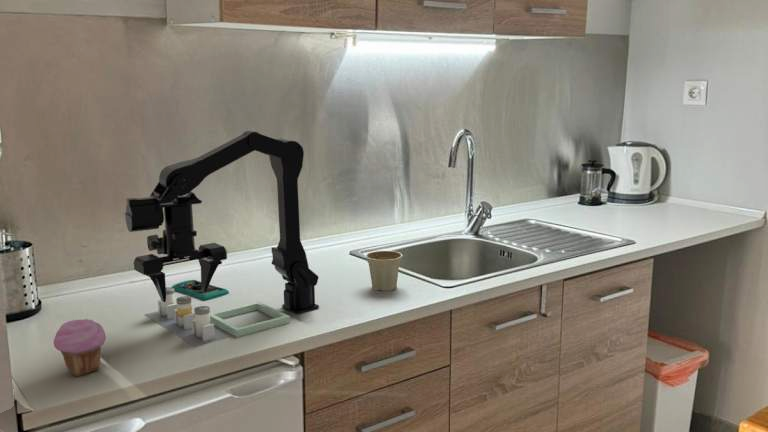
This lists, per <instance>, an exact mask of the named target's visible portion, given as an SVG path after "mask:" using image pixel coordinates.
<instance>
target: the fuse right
mask: <svg viewBox="0 0 768 432" xmlns="http://www.w3.org/2000/svg"><path fill="white" fill-rule="evenodd" d="M193 310H194V312H193V313H195V325H196V338H199V339H202V326H204V325H208V324H211V322H210V314H211V308H210V306H208V305H200V306H196V307H194V308H193Z"/></svg>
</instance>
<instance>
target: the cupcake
mask: <svg viewBox="0 0 768 432" xmlns="http://www.w3.org/2000/svg"><path fill="white" fill-rule="evenodd" d="M105 332H106V331H105V329H104V327H103V326H102V325H101V324H100V323H99V322H96V321H94V320H92V319H88V318H83V319H73V320H69V321H67V322H65V323H63V324H61V326H60V327H59V329H58V331H56V333H55V336H54V337H53V347H54V348H55V349H56V350H57V351H59V352H60V353H61V354H62V356H63V359H64V363H65V365H66V369H68V371H69V372H70V373H71V374H73V375H74V376H76V377H78V376H83V375H86V374H88V373H91V372H96V371H97V370H99V369H100V367H101V349H102V346H104V343H105V341H106V339H107V338H106V337H107V335H106V333H105Z"/></svg>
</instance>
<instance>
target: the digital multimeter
mask: <svg viewBox="0 0 768 432" xmlns="http://www.w3.org/2000/svg"><path fill="white" fill-rule="evenodd" d="M170 287H171V288H174V292H177V293H180V294H184V295H187V296H189V297H193V298H196V299H200V300H202V301H204V302H205V301H209V300H214V299H217V298H220V297H221V298H222V297H223V296H227V295H229V290H228V289H226V288H223V287H220V286H215V285H212V284H209V286H208V289H207V291H206V293H203V292H202V288H201V281H199V280H196V279H189V280H183V281H181V282H178V283H175V284H173V285H172V286H170Z"/></svg>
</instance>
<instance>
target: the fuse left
mask: <svg viewBox="0 0 768 432" xmlns="http://www.w3.org/2000/svg"><path fill="white" fill-rule="evenodd" d="M171 287H172V286H169V287H168V286H167V287H166V302H163V301H162V300H161V299H160V300H161V310H162V312H161V314H162V317H167V305H171V304H175V303H176V300H175V299H176V298H175V291H174V288H171Z"/></svg>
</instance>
